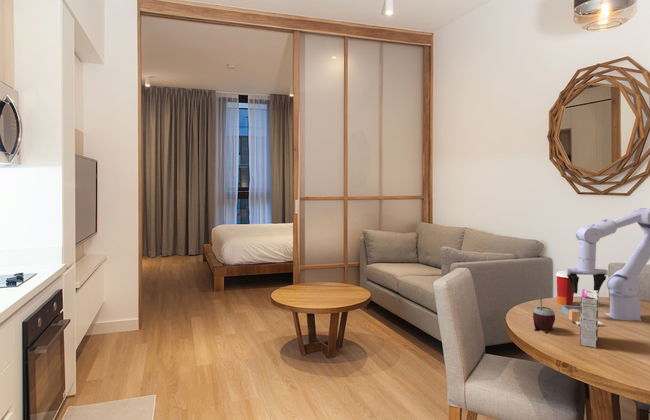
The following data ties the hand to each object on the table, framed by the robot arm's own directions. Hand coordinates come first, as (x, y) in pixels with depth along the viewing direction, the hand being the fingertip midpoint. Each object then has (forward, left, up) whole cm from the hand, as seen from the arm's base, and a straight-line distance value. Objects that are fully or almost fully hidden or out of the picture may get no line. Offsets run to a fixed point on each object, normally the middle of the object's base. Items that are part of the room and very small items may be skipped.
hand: (585, 293), depth 169 cm
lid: (+3, +7, -9) cm, 12 cm away
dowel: (+1, -4, -9) cm, 10 cm away
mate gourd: (+21, +16, -10) cm, 28 cm away
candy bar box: (+10, +25, -10) cm, 29 cm away
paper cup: (0, -18, -10) cm, 21 cm away
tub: (+2, -3, -10) cm, 11 cm away
